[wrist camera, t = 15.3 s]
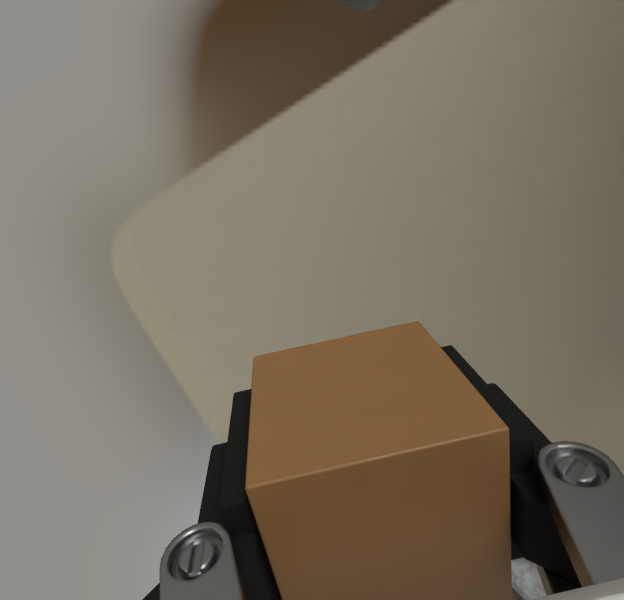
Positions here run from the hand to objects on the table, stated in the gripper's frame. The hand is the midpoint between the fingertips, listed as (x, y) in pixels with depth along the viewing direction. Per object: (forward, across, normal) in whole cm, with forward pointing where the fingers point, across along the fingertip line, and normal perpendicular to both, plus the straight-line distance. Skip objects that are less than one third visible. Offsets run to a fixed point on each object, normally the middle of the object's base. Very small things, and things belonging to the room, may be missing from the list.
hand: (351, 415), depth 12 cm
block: (0, 0, 0) cm, 0 cm away
